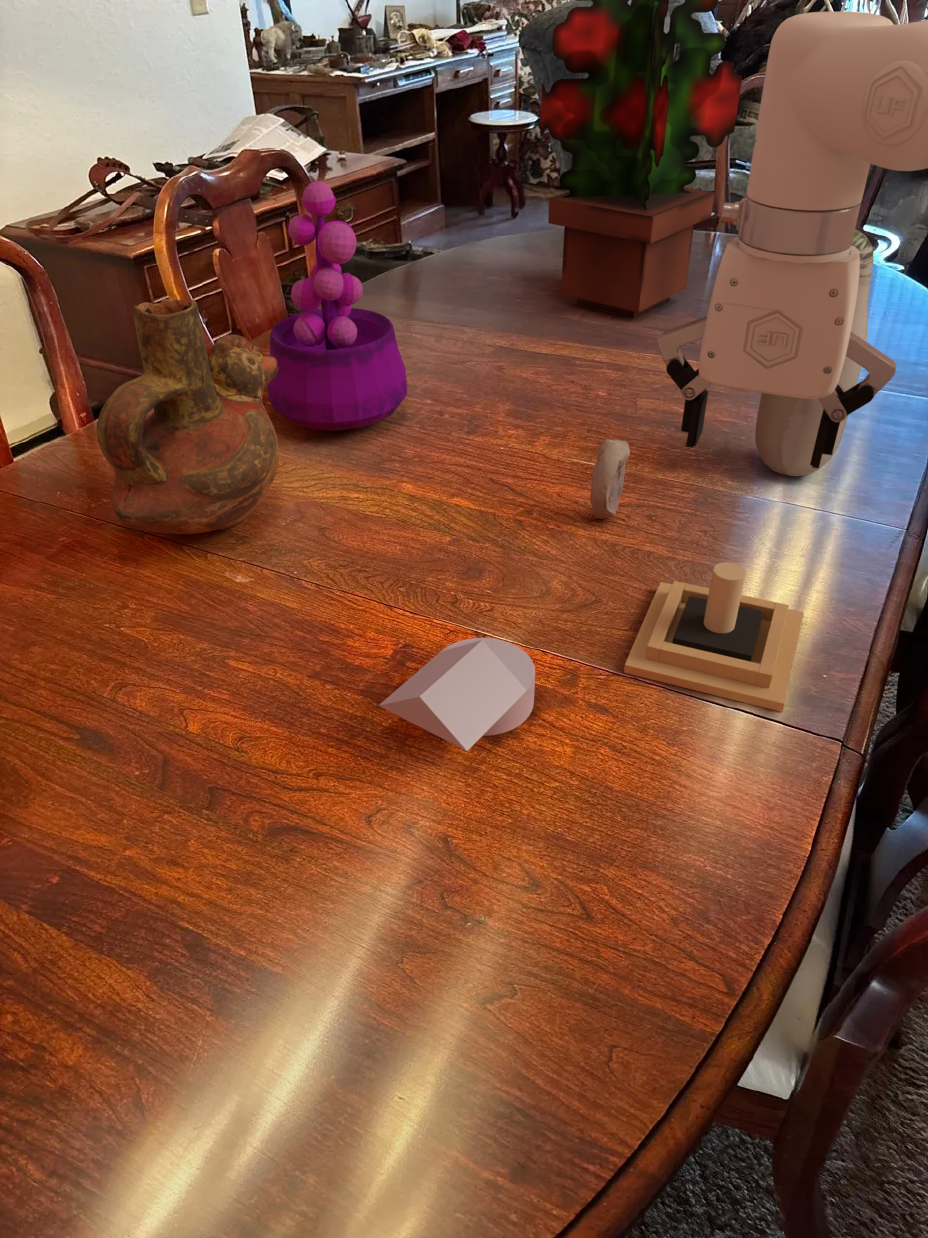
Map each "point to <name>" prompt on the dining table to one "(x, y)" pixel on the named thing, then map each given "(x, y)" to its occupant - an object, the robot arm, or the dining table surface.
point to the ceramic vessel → (189, 427)
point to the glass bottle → (796, 421)
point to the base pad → (711, 671)
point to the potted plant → (634, 146)
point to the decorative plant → (333, 336)
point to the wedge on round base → (468, 691)
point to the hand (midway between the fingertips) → (753, 450)
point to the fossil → (608, 477)
